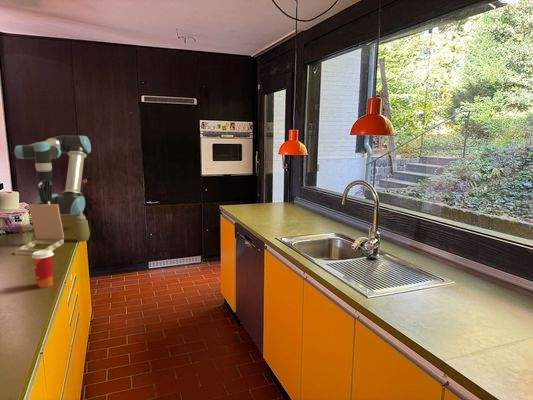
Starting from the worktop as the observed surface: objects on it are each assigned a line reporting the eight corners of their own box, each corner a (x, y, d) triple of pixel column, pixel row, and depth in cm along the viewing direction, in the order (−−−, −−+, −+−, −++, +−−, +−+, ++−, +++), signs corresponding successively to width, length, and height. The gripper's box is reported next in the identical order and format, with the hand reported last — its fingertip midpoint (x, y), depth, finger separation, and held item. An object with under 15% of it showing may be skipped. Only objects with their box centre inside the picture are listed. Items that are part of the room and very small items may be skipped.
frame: (36, 243, 210) (35, 239, 209) (63, 243, 211) (63, 239, 210) (14, 254, 190) (14, 250, 190) (45, 254, 191) (44, 249, 191)
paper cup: (40, 281, 156) (37, 249, 153) (59, 281, 156) (56, 249, 154) (30, 289, 148) (27, 255, 146) (50, 288, 149) (47, 255, 146)
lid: (35, 238, 209) (37, 237, 210) (63, 238, 210) (64, 237, 211) (28, 205, 202) (30, 204, 204) (57, 205, 203) (58, 204, 204)
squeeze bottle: (84, 243, 212) (81, 212, 209) (71, 242, 214) (69, 211, 211) (93, 239, 220) (91, 209, 217) (81, 238, 222) (79, 208, 219)
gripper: (43, 169, 210) (46, 210, 213) (30, 171, 197) (34, 215, 201) (56, 169, 210) (60, 210, 214) (44, 171, 197) (48, 215, 201)
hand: (47, 213), depth 207 cm, fingers closed
